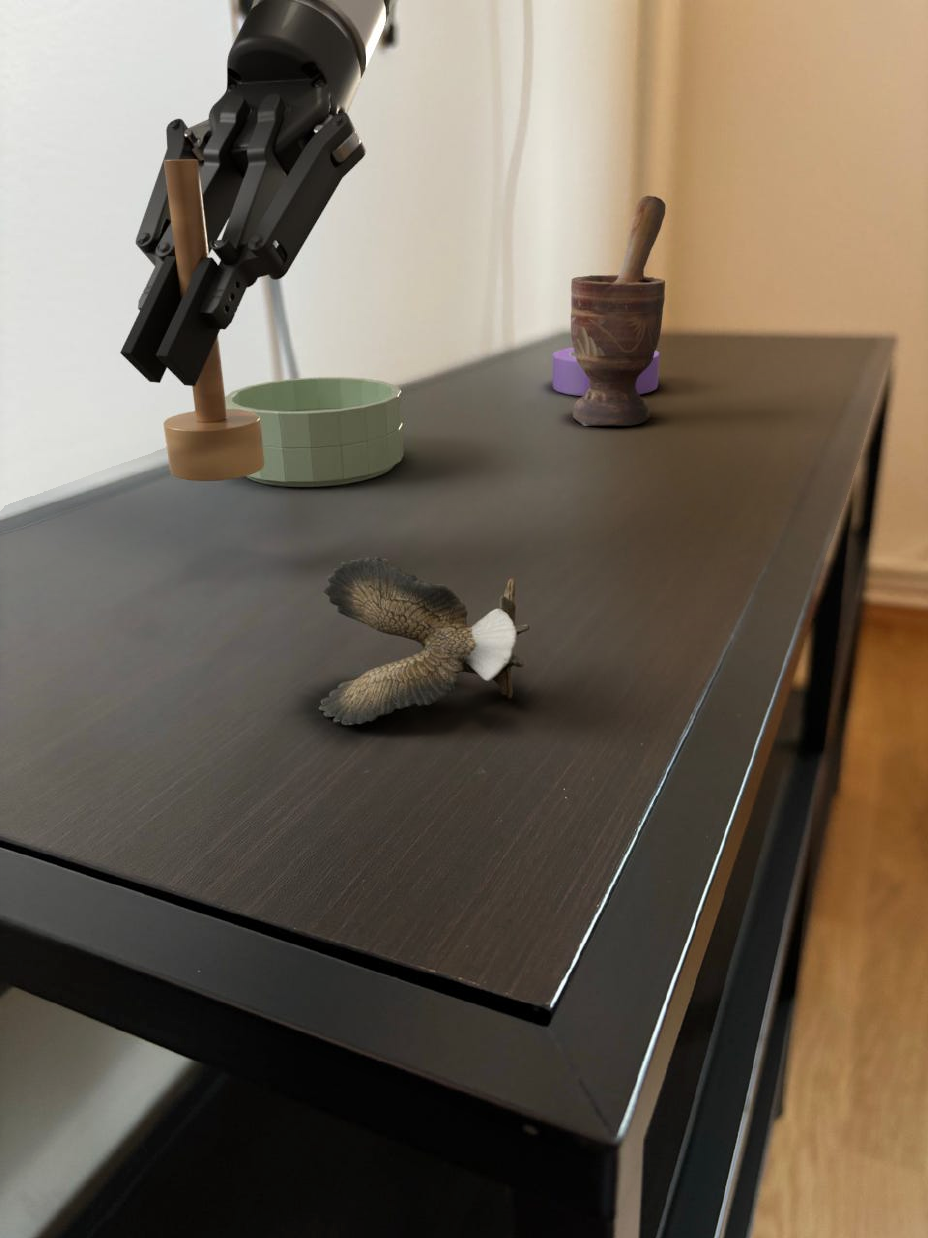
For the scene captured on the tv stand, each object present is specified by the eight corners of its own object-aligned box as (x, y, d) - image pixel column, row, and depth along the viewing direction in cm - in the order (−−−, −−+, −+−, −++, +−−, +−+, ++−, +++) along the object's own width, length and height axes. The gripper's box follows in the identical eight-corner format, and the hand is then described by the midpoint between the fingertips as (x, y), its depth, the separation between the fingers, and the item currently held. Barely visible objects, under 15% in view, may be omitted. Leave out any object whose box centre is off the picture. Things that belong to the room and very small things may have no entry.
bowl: (211, 489, 77) (201, 413, 75) (257, 443, 90) (250, 377, 88) (391, 489, 76) (387, 412, 74) (412, 443, 89) (409, 376, 87)
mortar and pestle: (578, 401, 104) (584, 195, 96) (661, 404, 102) (675, 194, 94) (561, 427, 94) (566, 199, 86) (653, 431, 92) (668, 197, 84)
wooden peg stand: (156, 481, 58) (109, 159, 50) (187, 455, 63) (148, 160, 56) (251, 481, 57) (216, 158, 50) (274, 456, 62) (246, 158, 55)
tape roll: (533, 391, 109) (533, 356, 108) (582, 374, 118) (583, 341, 116) (630, 402, 103) (632, 365, 102) (674, 383, 112) (676, 348, 110)
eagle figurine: (495, 624, 51) (319, 606, 49) (533, 539, 45) (335, 516, 43) (502, 760, 46) (310, 746, 45) (546, 687, 41) (326, 668, 39)
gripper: (433, 94, 61) (302, 419, 54) (239, 103, 67) (99, 397, 60) (387, -20, 54) (231, 334, 48) (176, 1, 60) (11, 319, 54)
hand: (158, 368), depth 54 cm, fingers closed on wooden peg stand, 2 cm apart
